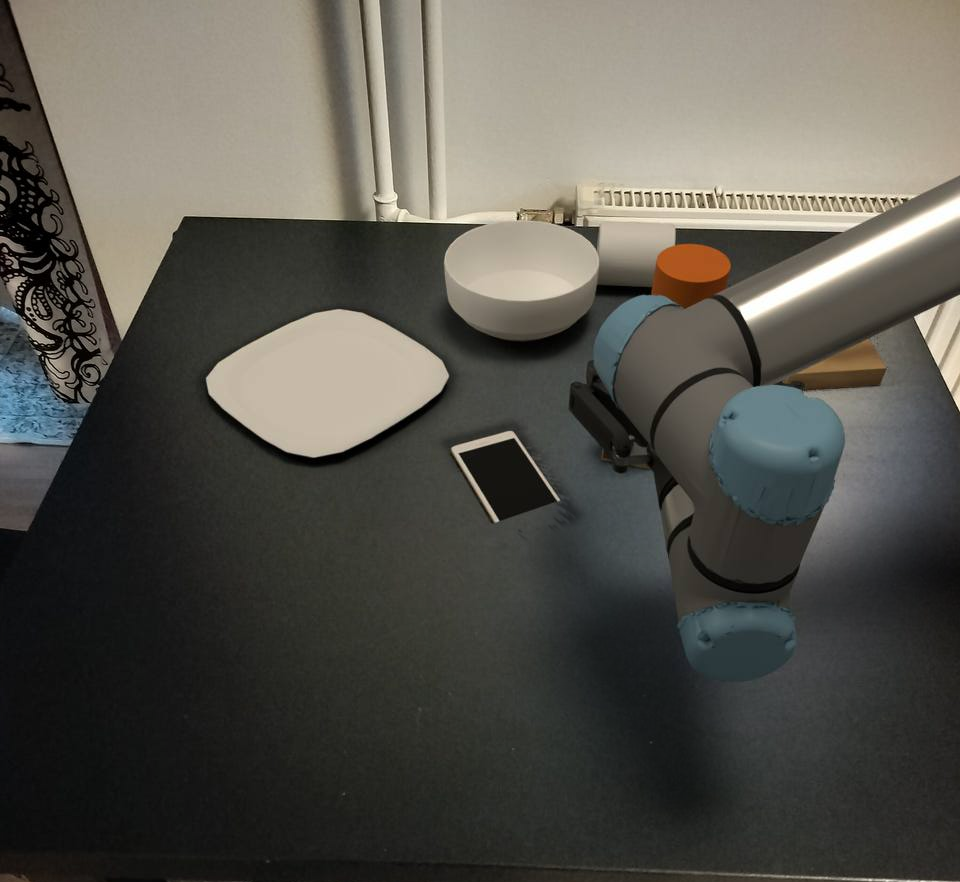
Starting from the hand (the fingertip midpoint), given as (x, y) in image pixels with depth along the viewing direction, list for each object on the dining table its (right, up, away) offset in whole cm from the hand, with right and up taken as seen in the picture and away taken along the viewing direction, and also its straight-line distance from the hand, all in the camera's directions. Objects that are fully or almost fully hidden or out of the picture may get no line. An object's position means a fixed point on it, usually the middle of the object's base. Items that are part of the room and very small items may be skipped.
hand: (673, 344), depth 83 cm
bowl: (-13, +15, +36) cm, 41 cm away
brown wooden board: (+24, +11, +32) cm, 42 cm away
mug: (+3, +24, +43) cm, 49 cm away
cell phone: (-15, -10, +16) cm, 24 cm away
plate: (-37, +4, +27) cm, 46 cm away
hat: (+3, +4, +12) cm, 13 cm away
